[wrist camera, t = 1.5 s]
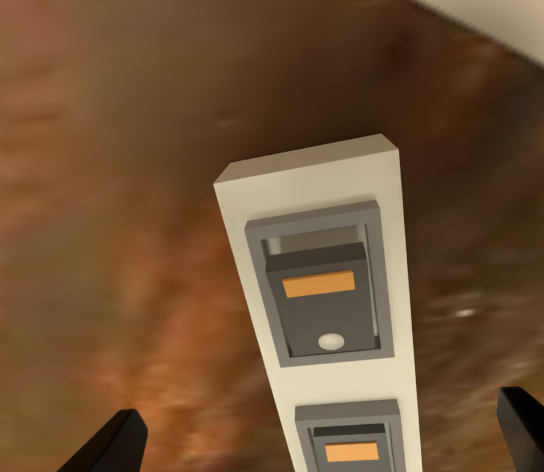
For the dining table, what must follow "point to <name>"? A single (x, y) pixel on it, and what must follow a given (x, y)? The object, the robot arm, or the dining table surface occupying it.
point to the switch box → (382, 278)
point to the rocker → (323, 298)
